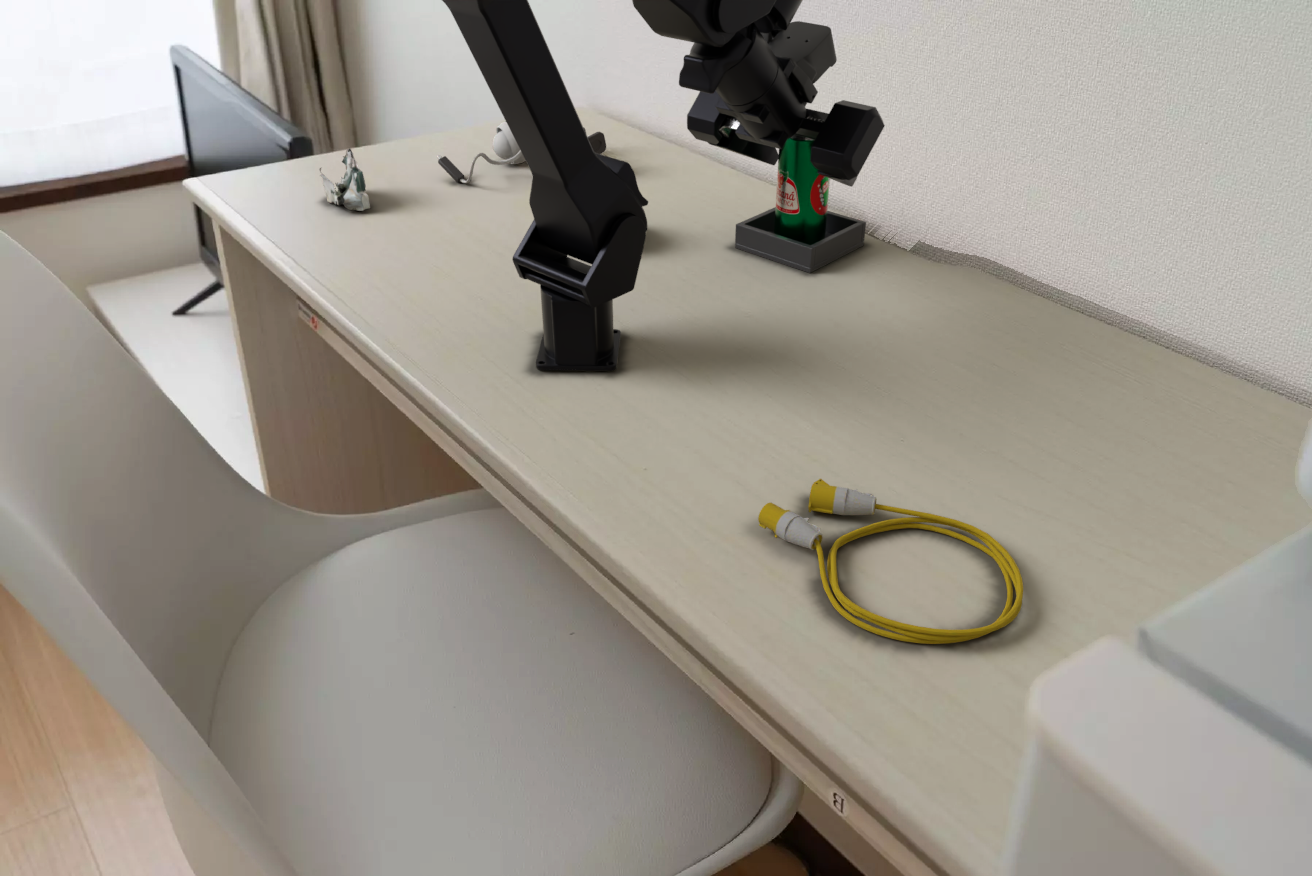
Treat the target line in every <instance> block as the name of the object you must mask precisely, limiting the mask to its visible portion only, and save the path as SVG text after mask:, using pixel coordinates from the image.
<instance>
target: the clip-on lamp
mask: <svg viewBox="0 0 1312 876" xmlns="http://www.w3.org/2000/svg"><path fill="white" fill-rule="evenodd" d="M583 128H584V130H585V133H586V134H587V131H586V130H587V129H586V128H585V127H584V126H583ZM495 131H496V132H495V133H496V134H495V135H494V137H493V139H492V148H493V152H494V154H495V155H496V156H497V157H498V158H500V159H503V160H494V159H491V158H490V157H489V156H488V155H487V154H486V153H484V152H479V153H476V155H474V157H473V160H472V161H471V164H470V169H469V174H468V177H467V179H466V180H465V178H466V175H464V173H463V172H462V171H461V170H460V169H458V167H457V166H456V165H455V164H454V163H453V162H452V161H451V159H449V158H448V157H447V156H446V155H444V156H442V155H441V154H437V155H436V158H437V159H438V160H437V163H438V164H439V166H440V167H441V168H442V169H443V170H444V171H445V172H446V173H447V174H448V175H449V176H450V177H451V178H452V179H453V180H454V181H455V182H456V183H457V184H459V183H462V184H469V183H470V182H471V181H472V178H473V174H474V168H475V165H476V162H477V160H478V159H479V158H480V157H482V158H484V160H485V161H486V162H487V163H489V164H490V165H495V166H496V165H497V166H499V165H500V166H503V165H507V164H508V165H509V164H511V165H518V164H522V163H524V162H526V160H525V158H524V156H523V154H522V152H521V150H520V148H519V146H518V144H517V142H516V140H515V138H514V136H513V134H512V132H511V130H510V128H509V126H508V124H507V122H506V120H505V121H503V122H501V123H500V124H498V125H497V127H496V129H495ZM587 137H588V139H589V142H590V144H591V146H592V149H593V151H594V152H595V153H598V154H601V155H603V153H605V152H606V150H607V143H606V137H605V133H604V132H601V131H596V132H593V133H592V134H590V135H589V134H588V135H587Z"/></svg>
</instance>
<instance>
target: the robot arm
mask: <svg viewBox="0 0 1312 876" xmlns="http://www.w3.org/2000/svg"><path fill="white" fill-rule="evenodd" d="M441 1H442V2H443V3H444V4H445V5H446V7H447V9H449V12H450V13H451V15H452V17H453V19H454V21H455V22H456V25H457V27H458V29H459V31H460V33H461V35H462V37H463V39H464V41H465V43H466V45H467V47H468V49H469V51H470V52H471V55H472V56H473V59H474V61H475V63H476V65H477V66H478V69H479V70H480V73H481V76H482V77H483V79H484V80H485V83H486V84H487V86H488V88H489V90H490V93H491V94H492V96H493V98H494V100H495V102H496V105H497V107H498V108H499V110H500V112H501V114H502V116H503V118H504V120H505V121H506V122H507V124H508V126H509V128H510V130H511V132H512V134H513V136H514V138H515V140H516V142H517V144H518V146H519V148H520V150H521V152H522V154H523V156H524V158H525V160H526V161H525V162H526V165H527V166H528V168H529V170H530V172H531V175H532V177H531V178H532V179H531V184H530V185H531V186H530V193H529V199H528V201H529V202H528V203H529V207H530V210H531V213H532V216H533V221H532V222H531V224H530V226H529V227H528V229H527V231H526V233H525V234H524V236H523V238H522V240H520V243H519V245H518V247H517V248H516V250H515V252H514V254H513V255H512V263H513V265H514V267H515V270H516V272H517V274H518V276H519V278H521V279H523V280H528V281H530V282H532V283H535V284H538V285H539V288H540V299H541V300H540V302H541V303H540V304H541V316H542V318H541V319H542V331H543V333H542V337H541V340H540V344H539V348H538V353H537V357H536V360H535V369H536V370H539V371H578V372H579V371H582V372H583V371H585V372H586V371H587V372H590V371H593V372H597V371H598V372H600V371H601V372H613V371H616V370H617V369H618V363H619V355H620V353H619V352H620V347H621V339H622V331H621V330H620V329H615V328H614V307H613V306H614V303H613V300H615V299H617V298H619V297H621V296H624V295H626V294H628V293H630V292H633V290H634V289H635V286H636V283H637V282H636V281H637V278H638V273H639V269H640V265H641V260H642V256H643V252H644V247H645V243H646V237H647V231H648V219H647V215H646V212H645V209H644V207H646V206H648V204H649V201H648V199H647V198H645V197H644V196H643V194H642V193H641V191H640V188H639V185H638V182H637V178H636V177H637V176H636V173H635V170H634V169H633V167H632V165H631V164H630V163H629V162H628V161H624V160H621V159H618V158H615V157H611V156H608V155H605V154H598V153H595V152H594V151H593V149H592V146H591V144H590V142H589V139H588V137H587V136H588V135H587V132H586V133H585V130H586V129H585V130H584V128H585V127H584V126H583V124H582V122H581V118H580V117H579V114H578V112H577V110H576V108H575V105H574V103H573V101H572V97H571V96H570V93H569V91H568V89H567V87H566V85H565V82H564V80H563V78H562V76H561V73H560V71H559V68H558V67H557V65H556V62H555V60H554V57H553V55H552V53H551V50H550V48H549V45H548V43H547V41H546V39H545V37H544V34H543V32H542V30H541V27H540V25H539V23H538V21H537V19H536V16H535V14H534V11H533V9H532V7H531V5H530V2H529V0H441ZM631 2H632V6H633V7H634V9H635V10H636V12H637V13H638V14H639V15H640V16H641V17H642V19H643V20H644V21H645V23H646V24H647V25H648V27H649V28H650V29H651V30H652V31H653V32H654V33H655V34H657V35H659V36H661V37H664V38H669V39H674V40H678V41H684V42H689V43H693V44H692V46H691V48H690V51H689V54H685V55H684V56H683V64H682V68H681V69H680V71H679V76H678V85H679V87H681V88H683V89H689V90H692V91H697V92H699V93H698V95H697V96H696V98H695V100H694V101H693V103H692V105H691V107H690V109H689V110H688V112H687V114H686V128H687V130H688V131H689V133H690V134H691V136H693V137H694V138H695V140H698V141H702V142H705V143H707V144H709V145H711V146H713V147H716V148H717V147H718V148H721V149H723V150H726V151H729V152H732V153H735V154H737V155H741V156H744V157H748V158H750V159H754V160H756V161H759V162H762V163H764V164H767V165H769V166H775V165H776V164H777V163H778V158H779V151H778V150H779V149H782V148H783V146H784V145H785V143H786V141H787V139H789V138H791V137H792V136H794V135H798V136H802V137H806V138H810V139H814V142H813V144H812V146H811V156H810V162H811V163H812V164H813V166H814V167H815V168H816V169H818V172H817V173H818V174H820V175H823V176H825V177H828V178H830V180H833V181H835V182H838V183H839V184H842V185H845V186H847V187H853V186H854V185H855V183H856V181H857V179H858V176H859V175H860V173H861V171H862V169H863V167H864V165H865V163H866V162H867V160H868V158H869V157H870V154H871V152H872V150H873V149H874V147H875V145H876V143H877V141H878V139H879V137H880V136H881V134H882V132H883V130H884V128H885V123H884V120H883V117H882V116H881V114H880V112H879V111H878V109H877V107H876V106H872V105H867V104H864V103H863V104H862V103H858V102H854V101H849V100H845V99H844V100H843V99H842V100H840V101H837V102H834V104H832V105H833V106H832V107H831V109H830V111H829V113H827V112H823V111H819V110H814V109H812V108H811V109H810V108H806V106H807V104H810V105H812V104H813V103H814V101H815V99H816V97H817V95H818V92H819V91H818V89H817V88H816V86H815V83H817V81H819V79H820V78H821V77H822V76H823V75H824V74H825V73H826V72H827V71H828V70H829V69H830V68H831V67H834V66H835V64H836V63H837V61H838V60H837V53H836V49H835V48H836V47H835V43H834V38H833V33H832V32H833V31H832V28H831V27H830V26H828V25H824V24H818V23H812V22H806V21H800V20H799V21H798V20H795V21H793V19H794V17H795V15H796V13H797V12H798V10H799V8H800V6H801V5H802V2H803V0H631ZM583 127H584V128H583Z"/></svg>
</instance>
